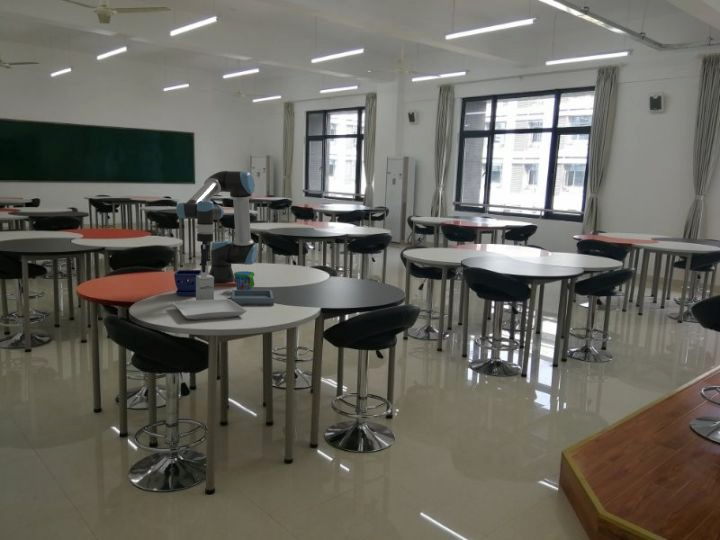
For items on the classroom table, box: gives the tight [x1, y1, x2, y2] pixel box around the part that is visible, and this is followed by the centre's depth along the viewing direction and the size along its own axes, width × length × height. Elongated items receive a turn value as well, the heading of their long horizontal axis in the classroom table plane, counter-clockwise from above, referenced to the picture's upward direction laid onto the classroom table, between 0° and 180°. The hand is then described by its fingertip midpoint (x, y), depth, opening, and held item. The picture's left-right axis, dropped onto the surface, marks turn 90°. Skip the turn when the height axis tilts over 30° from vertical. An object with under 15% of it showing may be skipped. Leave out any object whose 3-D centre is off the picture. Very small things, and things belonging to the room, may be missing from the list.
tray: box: [231, 289, 275, 306], centre depth 275 cm, size 20×20×4 cm
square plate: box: [171, 298, 247, 321], centre depth 247 cm, size 27×27×4 cm
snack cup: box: [233, 270, 255, 290], centre depth 297 cm, size 16×10×10 cm
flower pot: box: [173, 269, 201, 297], centre depth 282 cm, size 13×13×12 cm
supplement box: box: [195, 274, 215, 300], centre depth 268 cm, size 7×7×13 cm
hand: (204, 276), depth 267 cm, fingers open, 13 cm apart
